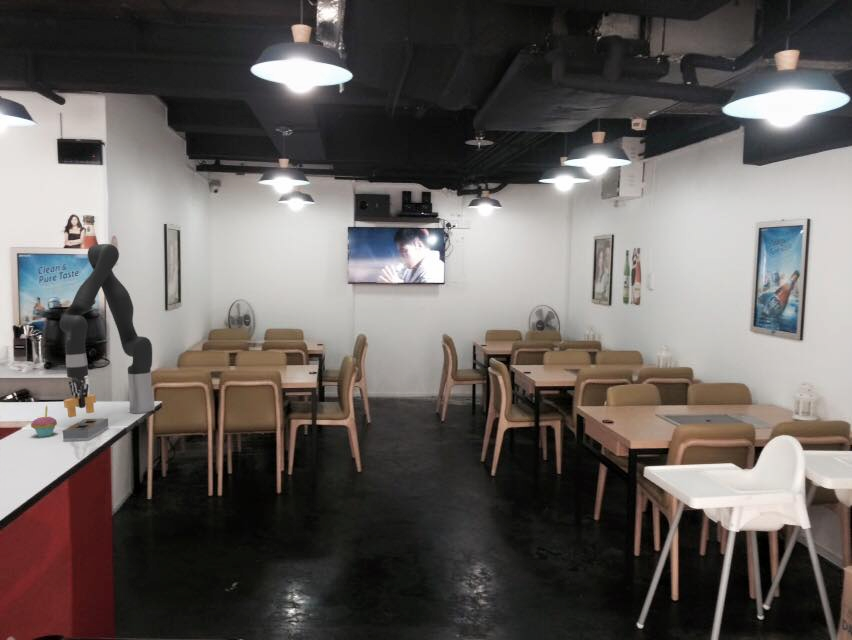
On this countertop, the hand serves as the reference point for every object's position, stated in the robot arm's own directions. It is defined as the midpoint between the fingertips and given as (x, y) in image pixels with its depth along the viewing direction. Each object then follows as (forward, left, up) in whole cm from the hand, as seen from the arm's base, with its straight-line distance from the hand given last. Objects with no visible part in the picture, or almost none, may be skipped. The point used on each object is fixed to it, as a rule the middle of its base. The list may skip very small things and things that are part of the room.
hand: (80, 406), depth 267 cm
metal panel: (+4, +16, -8) cm, 18 cm away
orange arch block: (0, 0, -3) cm, 3 cm away
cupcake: (+15, +4, -8) cm, 18 cm away
